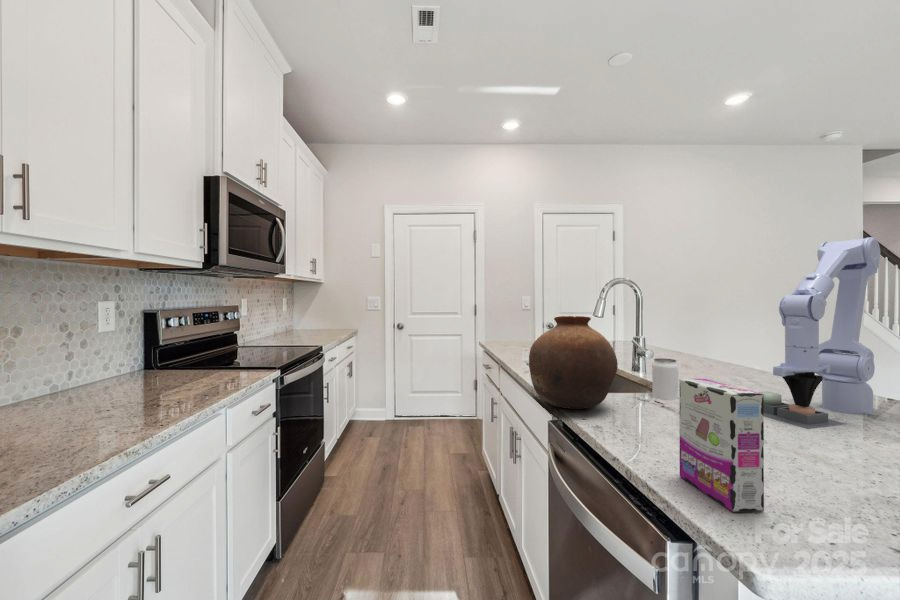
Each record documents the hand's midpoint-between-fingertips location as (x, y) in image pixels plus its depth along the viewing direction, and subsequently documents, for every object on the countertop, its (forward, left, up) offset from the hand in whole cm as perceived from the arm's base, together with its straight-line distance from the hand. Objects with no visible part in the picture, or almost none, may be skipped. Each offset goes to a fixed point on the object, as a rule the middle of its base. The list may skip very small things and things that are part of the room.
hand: (802, 405), depth 87 cm
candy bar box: (+46, +19, -5) cm, 50 cm away
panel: (0, -7, -5) cm, 8 cm away
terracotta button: (0, 0, -3) cm, 3 cm away
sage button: (0, -7, -1) cm, 7 cm away
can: (+14, -25, -5) cm, 29 cm away
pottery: (+42, -28, -5) cm, 51 cm away
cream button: (0, -14, -1) cm, 14 cm away
